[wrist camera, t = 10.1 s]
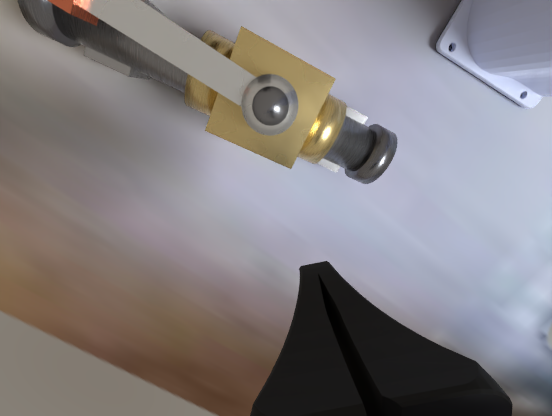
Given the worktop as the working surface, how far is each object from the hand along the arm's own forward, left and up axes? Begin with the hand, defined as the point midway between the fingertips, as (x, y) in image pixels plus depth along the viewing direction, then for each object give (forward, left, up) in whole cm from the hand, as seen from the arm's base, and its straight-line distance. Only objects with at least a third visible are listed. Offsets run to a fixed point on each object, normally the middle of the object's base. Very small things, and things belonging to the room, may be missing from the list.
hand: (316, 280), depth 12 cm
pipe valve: (+7, -6, -10) cm, 14 cm away
